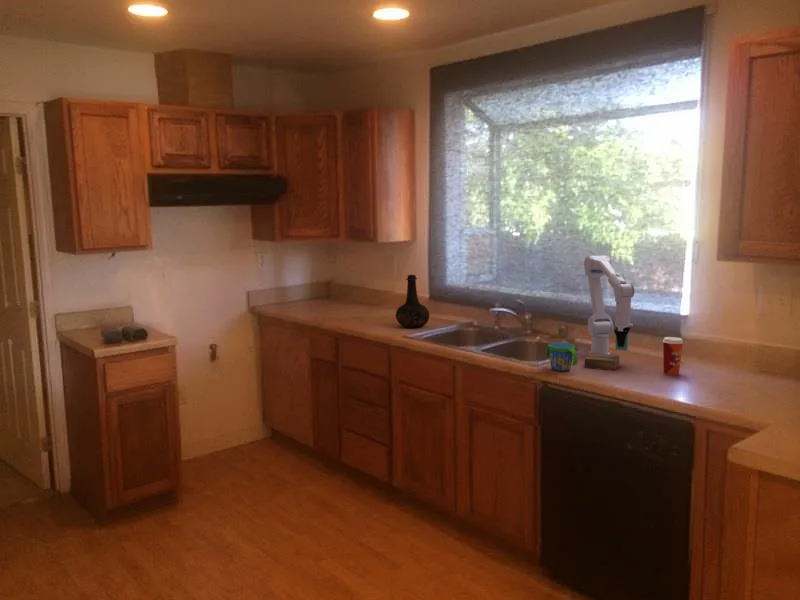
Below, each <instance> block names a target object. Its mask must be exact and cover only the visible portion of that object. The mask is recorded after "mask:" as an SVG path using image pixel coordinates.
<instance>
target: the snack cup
mask: <svg viewBox="0 0 800 600" xmlns="http://www.w3.org/2000/svg"><path fill="white" fill-rule="evenodd" d="M575 349H576V346H575V345H574V344H572V343H568V342H549V343H548V345H547V347H546V350H545V358H546V359H549V361H550V367H551V370H554V371H558V372H568V371H570V370H571V366H576V365H577V364H578V355H577V351H576V350H575Z"/></svg>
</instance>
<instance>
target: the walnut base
mask: <svg viewBox="0 0 800 600" xmlns="http://www.w3.org/2000/svg"><path fill="white" fill-rule="evenodd" d="M619 365H620V355H619V354H610V355H608V354H597V353H591V352H590V353H588V355H587V356H586V357H585V358H584V368H586V367H589V368H588V369H596V368H600V370H607V369H611V371H616V370H615V369H618V366H619Z"/></svg>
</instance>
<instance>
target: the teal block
mask: <svg viewBox="0 0 800 600" xmlns="http://www.w3.org/2000/svg"><path fill="white" fill-rule="evenodd" d="M629 335H630V334H629V333H628V334H627V335H626V339H625V344H624V347H618V343H617V337H616V336H615V350H616V351H628V350H629Z"/></svg>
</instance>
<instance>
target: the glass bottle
mask: <svg viewBox="0 0 800 600" xmlns="http://www.w3.org/2000/svg"><path fill="white" fill-rule="evenodd" d="M417 279H418V278H417V275H414V274H408V275H407V278H406V279H405V280H407V285H406V286H407V289H406V300H405V302H404V304H402V305H400V306H399V307H398V308H397V310H396V312H395V319H396V321H397V322H398V323H399V325H400V326H402V327H403V328H407V329H417V328H422V327H423V326H425V325H426V324H427V323H428V321H429V319H430V311H429V309H428V308H427V306H425V305H423V304H421V303H420V301H419V298H418V293H417V292H418V291H417Z"/></svg>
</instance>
